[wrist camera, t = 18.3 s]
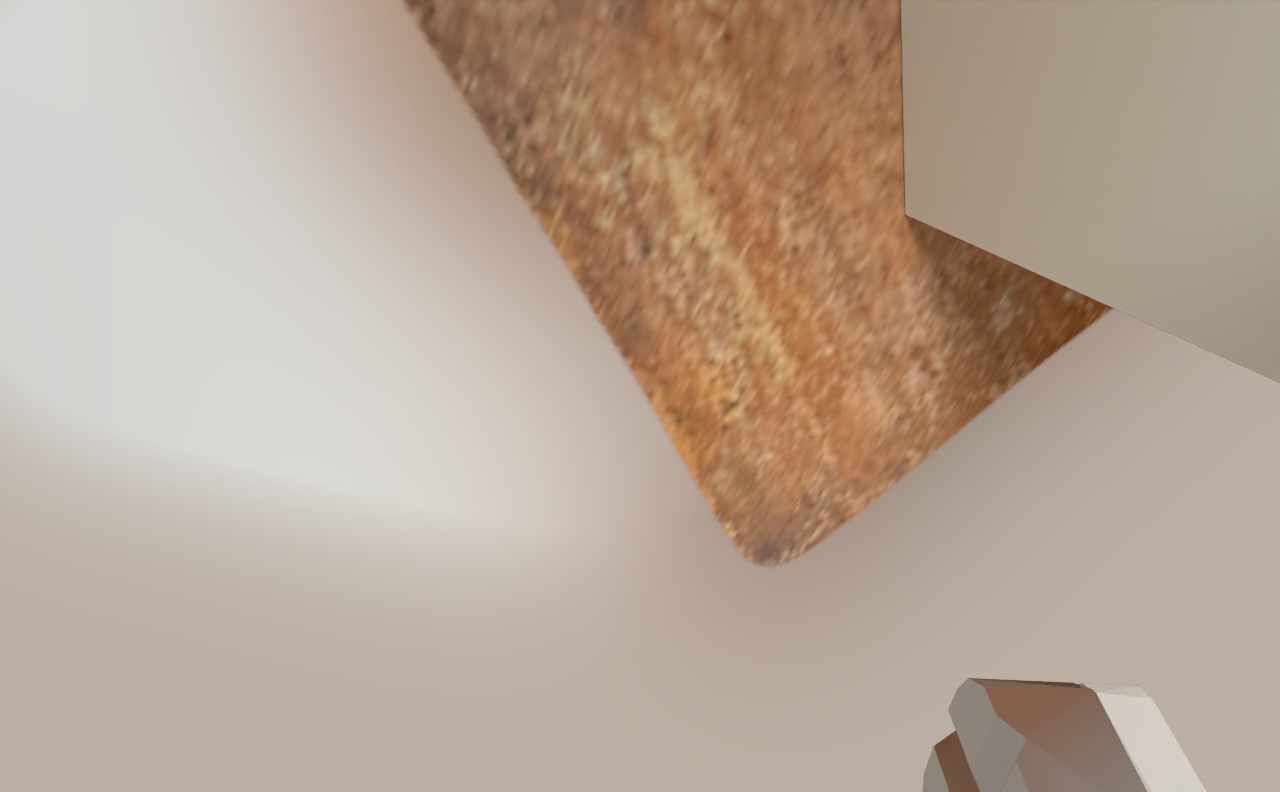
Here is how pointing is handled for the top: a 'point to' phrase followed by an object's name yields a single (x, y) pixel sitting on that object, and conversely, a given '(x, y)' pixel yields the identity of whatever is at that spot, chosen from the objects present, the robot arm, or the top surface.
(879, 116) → the top surface
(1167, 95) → the stand
